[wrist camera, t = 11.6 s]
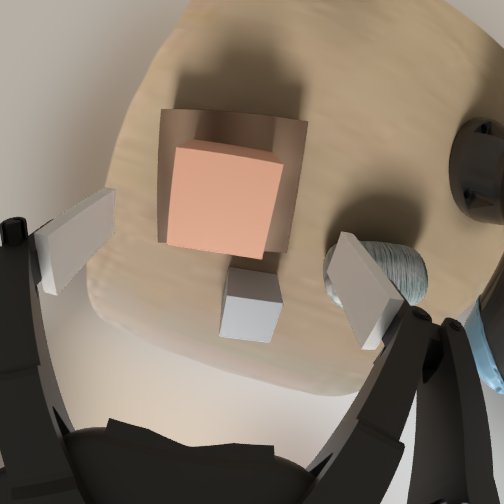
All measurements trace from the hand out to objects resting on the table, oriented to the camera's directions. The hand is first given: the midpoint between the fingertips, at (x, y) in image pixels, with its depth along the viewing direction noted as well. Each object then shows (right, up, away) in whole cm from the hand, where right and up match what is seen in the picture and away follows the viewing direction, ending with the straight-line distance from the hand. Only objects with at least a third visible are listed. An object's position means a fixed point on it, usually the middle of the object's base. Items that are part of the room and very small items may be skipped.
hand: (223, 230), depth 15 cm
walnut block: (-1, +7, +14) cm, 16 cm away
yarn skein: (+16, -2, +19) cm, 25 cm away
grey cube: (+1, -6, +20) cm, 21 cm away
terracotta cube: (-1, +5, +10) cm, 11 cm away
